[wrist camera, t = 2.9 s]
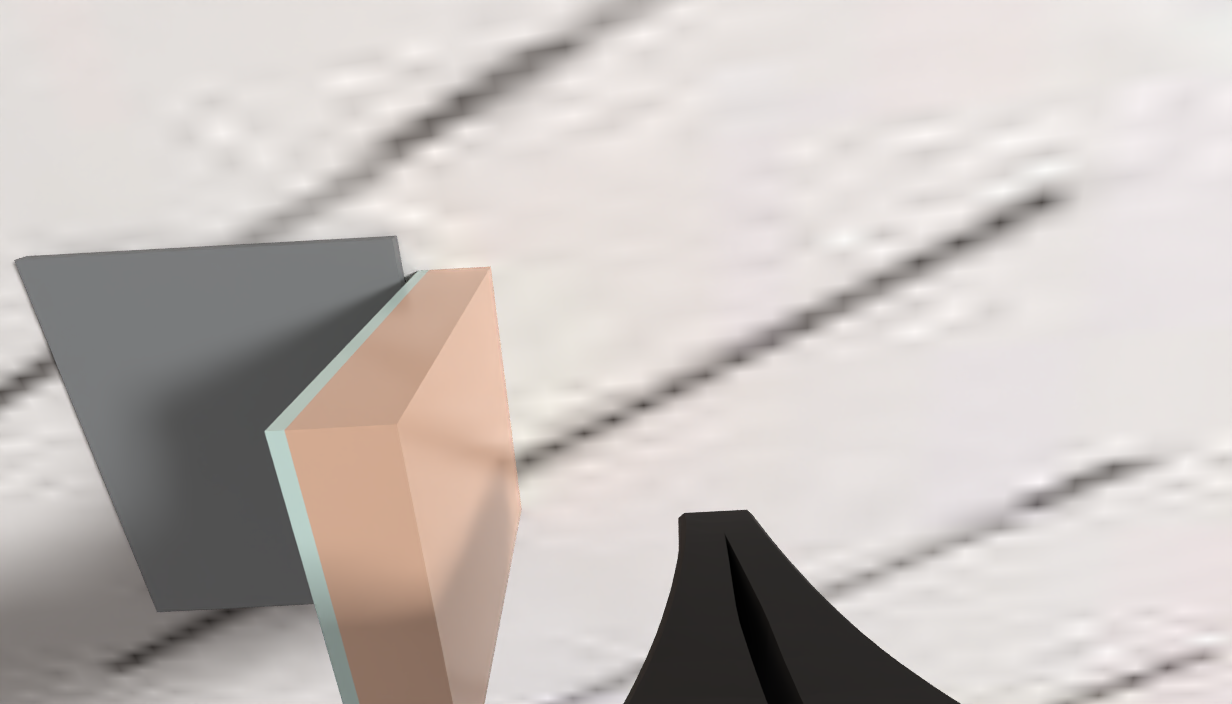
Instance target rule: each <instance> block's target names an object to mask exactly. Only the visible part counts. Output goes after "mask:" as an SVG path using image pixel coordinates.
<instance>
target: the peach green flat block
mask: <svg viewBox="0 0 1232 704" xmlns="http://www.w3.org/2000/svg"><path fill="white" fill-rule="evenodd" d="M264 432H265V435H266V439H267V442H268V445H269V449H270V452H271V456H272V459H273V463H274V466H275V470H276V473H277V477H278V480H279V484H280V487H281V491H282V494H283V497H284V501H285V504H286V508H287V511H288V515H289V518H290V522H291V525H292V529H293V532H294V536H295V539H296V543H297V546H298V550H299V553H300V556H301V560H302V563H303V567H304V570H305V574H306V577H307V581H308V584H309V588H310V591H311V595H312V598H313V602H314V605H315V609H316V612H317V615H318V619H319V622H320V626H321V629H322V633H323V636H324V640H325V643H326V647H327V650H328V654H329V657H330V661H331V664H332V668H333V671H334V674H335V678H336V681H337V685H338V688H339V692H340V695H341V699H342V702H343V704H484V703H485V698H486V693H487V687H488V682H489V677H490V672H491V666H492V661H493V656H494V651H495V645H496V640H497V635H498V630H499V624H500V619H501V614H502V609H503V603H504V598H505V593H506V588H507V582H508V577H509V572H510V567H511V561H512V556H513V551H514V546H515V541H516V535H517V530H518V525H519V520H520V514H521V501H520V493H519V486H518V478H517V470H516V462H515V454H514V446H513V438H512V430H511V423H510V415H509V407H508V399H507V391H506V383H505V375H504V368H503V360H502V352H501V344H500V336H499V328H498V320H497V313H496V305H495V297H494V289H493V281H492V273H491V267H476V268H458V269H440V270H421V271H417V272H416V273H415V274H414V276H413V277H412V278H411V279H410V280H409V281H408V282H407V283H406V284H405V285H404V286H403V287H402V288H401V289H400V290H399V291H398V292H397V293H396V294H395V295H394V296H393V297H392V299H391V300H390V301H389V302H388V303H387V304H386V305H385V306H384V307H383V308H382V309H381V310H380V311H379V312H378V313H377V314H376V315H375V316H374V317H373V318H372V319H371V320H370V322H369V323H368V324H367V325H366V326H365V327H364V328H363V329H362V330H361V331H360V332H359V333H358V334H357V335H356V336H355V337H354V338H353V339H352V340H351V341H350V342H349V343H348V345H347V346H346V347H345V348H344V349H343V350H342V351H341V352H340V353H339V354H338V355H337V356H336V357H335V358H334V359H333V360H332V361H331V362H330V363H329V364H328V365H327V367H326V368H325V369H324V370H323V371H322V372H321V373H320V374H319V375H318V376H317V377H316V378H315V379H314V380H313V381H312V382H311V383H310V384H309V385H308V386H307V387H306V388H305V390H304V391H303V392H302V393H301V394H300V395H299V396H298V397H297V398H296V399H295V400H294V401H293V402H292V403H291V404H290V405H289V406H288V407H287V408H286V409H285V410H284V411H283V413H282V414H281V415H280V416H279V417H278V418H277V419H276V420H275V421H274V422H273V423H272V424H271V425H270V426H269V427H268V428H267V429H266V430H265V431H264Z"/></svg>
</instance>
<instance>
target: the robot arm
mask: <svg viewBox="0 0 1232 704" xmlns="http://www.w3.org/2000/svg"><path fill="white" fill-rule="evenodd" d="M678 524H679V553H678V560H677V564H676V569H675V574H674V578H673V583H672V587H671V591H670V594H669V597H668V601H667V604H666V607H665V610H664V613H663V617H662V620H661V623H660V625H659V628H658V631H657V634H656V636H655V639H654V641H653V644H652V646H651V648H650V651H649V653H648V655H647V658H646V660H645V662H644V664H643V666H642V668H641V671H640V673H639V675H638V677H637V679H636V681H635V683H634V685H633V687H632V689H631V691H630V693H629V695H628V696H627V698H626V700H625V702H624V704H960V703H959V702H957V701H955V700H954V699H952V698H951V697H949V696H948V695H946V694H945V693H943V692H941V691H940V690H938V689H937V688H935V687H934V686H932V685H931V684H929V683H928V682H927V681H925V680H924V679H922V678H921V677H919V676H918V675H917V674H915V673H914V672H912V671H911V670H909V669H908V668H907V667H905V666H904V665H902V664H901V663H899V662H898V661H897V660H895V659H894V658H893V657H891V656H890V655H889V654H887V653H886V652H885V651H884V650H882V649H881V648H880V647H879V646H877V645H876V644H875V643H874V642H873V641H871V640H870V639H869V638H868V637H866V636H865V635H864V634H863V633H862V632H860V631H859V630H858V629H857V628H856V627H855V626H854V625H853V624H851V623H850V622H849V621H848V620H847V619H846V618H845V617H844V616H843V615H842V614H841V613H840V612H838V611H837V610H836V609H835V608H834V607H833V606H832V605H831V604H830V603H829V602H828V601H827V600H826V599H825V598H824V597H823V596H822V595H821V594H820V593H819V592H818V591H817V590H816V589H815V588H814V587H813V586H812V585H811V584H810V583H809V581H808V580H807V579H806V578H805V577H804V576H803V575H802V574H801V573H800V572H799V571H798V570H797V568H796V567H795V566H794V565H793V564H792V563H791V562H790V561H789V560H788V558H787V557H786V556H785V555H784V554H783V553H782V551H781V550H780V549H779V548H778V547H777V545H776V544H775V543H774V542H773V541H772V539H771V538H770V537H769V536H768V534H767V533H766V532H765V531H764V529H763V528H762V527H761V525H760V524H759V523H758V522H757V520H756V519H755V518H754V516H753V515H752V514H751V513H750V512H749V511H748V510H734V511H715V512H695V513H684V514H683V515H682V516H680V517H679V518H678Z"/></svg>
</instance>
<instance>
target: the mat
mask: <svg viewBox="0 0 1232 704" xmlns="http://www.w3.org/2000/svg"><path fill="white" fill-rule="evenodd" d="M14 261H15V263H16V266H17V268H18V271H19V273H20V275H21V278H22V280H23V283H24V285H25V288H26V290H27V293H28V295H29V298H30V300H31V303H32V305H33V307H34V310H35V312H36V315H37V317H38V320H39V322H40V325H41V327H42V330H43V332H44V335H45V337H46V339H47V342H48V344H49V347H50V349H51V352H52V354H53V357H54V359H55V362H56V364H57V367H58V369H59V371H60V374H61V376H62V379H63V381H64V384H65V386H66V389H67V391H68V394H69V396H70V399H71V401H72V403H73V406H74V408H75V411H76V413H77V416H78V418H79V421H80V423H81V426H82V428H83V431H84V433H85V435H86V438H87V440H88V443H89V445H90V448H91V450H92V453H93V455H94V458H95V460H96V463H97V465H98V467H99V470H100V472H101V475H102V477H103V480H104V482H105V485H106V487H107V490H108V492H109V495H110V497H111V499H112V502H113V504H114V507H115V509H116V512H117V514H118V517H119V519H120V522H121V524H122V527H123V529H124V531H125V534H126V536H127V539H128V541H129V544H130V546H131V549H132V551H133V554H134V556H135V559H136V561H137V564H138V566H139V568H140V571H141V573H142V576H143V578H144V581H145V583H146V586H147V588H148V591H149V593H150V596H151V598H152V600H153V603H154V605H155V608H156V610H157V612H170V611H189V610H208V609H227V608H246V607H265V606H284V605H303V604H314V602H313V598H312V595H311V591H310V588H309V584H308V581H307V577H306V574H305V570H304V567H303V563H302V560H301V556H300V553H299V550H298V546H297V543H296V539H295V536H294V532H293V529H292V525H291V522H290V518H289V515H288V511H287V508H286V504H285V501H284V497H283V494H282V491H281V487H280V484H279V480H278V477H277V473H276V470H275V466H274V463H273V459H272V456H271V452H270V449H269V445H268V442H267V439H266V435H265V432H264V431H265V430H266V429H267V428H268V427H269V426H270V425H271V424H272V423H273V422H274V421H275V420H276V419H277V418H278V417H279V416H280V415H281V414H282V413H283V411H284V410H285V409H286V408H287V407H288V406H289V405H290V404H291V403H292V402H293V401H294V400H295V399H296V398H297V397H298V396H299V395H300V394H301V393H302V392H303V391H304V390H305V388H306V387H307V386H308V385H309V384H310V383H311V382H312V381H313V380H314V379H315V378H316V377H317V376H318V375H319V374H320V373H321V372H322V371H323V370H324V369H325V368H326V367H327V365H328V364H329V363H330V362H331V361H332V360H333V359H334V358H335V357H336V356H337V355H338V354H339V353H340V352H341V351H342V350H343V349H344V348H345V347H346V346H347V345H348V343H349V342H350V341H351V340H352V339H353V338H354V337H355V336H356V335H357V334H358V333H359V332H360V331H361V330H362V329H363V328H364V327H365V326H366V325H367V324H368V323H369V322H370V320H371V319H372V318H373V317H374V316H375V315H376V314H377V313H378V312H379V311H380V310H381V309H382V308H383V307H384V306H385V305H386V304H387V303H388V302H389V301H390V300H391V299H392V297H393V296H394V295H395V294H396V293H397V292H398V291H399V290H400V289H401V288H402V287H403V286H404V285H405V280H404V274H403V269H402V263H401V257H400V252H399V246H398V241H397V236H386V237H368V238H350V239H332V240H313V241H295V242H277V243H259V244H241V245H223V246H205V247H187V248H168V249H150V250H132V251H114V252H96V253H78V254H60V255H41V256H26V257H23V258H19V259H16V260H14Z"/></svg>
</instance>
